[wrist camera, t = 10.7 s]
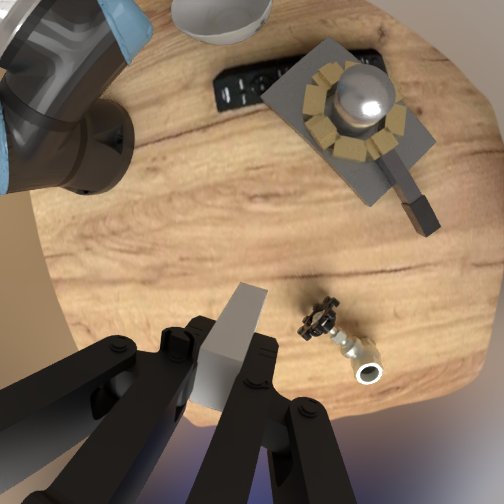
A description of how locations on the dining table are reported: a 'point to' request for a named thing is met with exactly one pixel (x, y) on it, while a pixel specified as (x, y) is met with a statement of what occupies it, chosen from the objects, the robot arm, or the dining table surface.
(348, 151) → the grey bar gold ring
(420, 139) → the plate
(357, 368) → the valve
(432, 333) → the dining table surface
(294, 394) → the dining table surface
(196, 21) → the teacup
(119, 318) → the dining table surface
